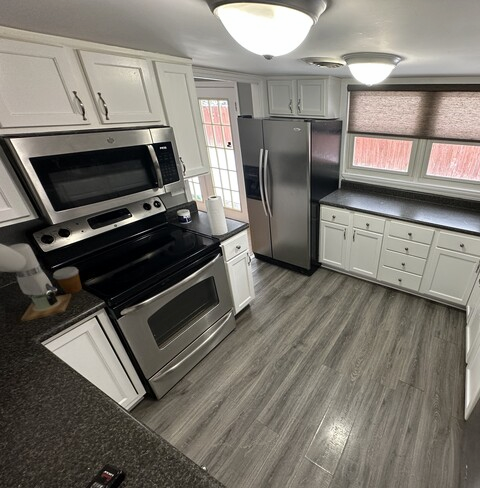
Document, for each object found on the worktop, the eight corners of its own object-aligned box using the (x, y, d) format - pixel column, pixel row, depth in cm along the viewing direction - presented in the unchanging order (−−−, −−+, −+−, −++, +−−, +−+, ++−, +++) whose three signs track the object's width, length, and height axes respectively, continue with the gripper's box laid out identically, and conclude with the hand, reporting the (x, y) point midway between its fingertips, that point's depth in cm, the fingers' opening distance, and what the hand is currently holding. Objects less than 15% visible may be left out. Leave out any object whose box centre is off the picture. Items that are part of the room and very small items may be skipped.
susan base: (22, 321, 116) (20, 319, 115) (33, 304, 127) (32, 301, 126) (64, 312, 123) (62, 309, 122) (71, 295, 133) (70, 293, 133)
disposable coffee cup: (65, 298, 131) (55, 278, 126) (59, 292, 136) (49, 272, 131) (89, 289, 139) (80, 270, 133) (82, 283, 143) (73, 264, 138)
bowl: (46, 312, 119) (40, 301, 117) (26, 311, 120) (20, 300, 117) (67, 299, 128) (61, 289, 126) (48, 298, 129) (43, 287, 126)
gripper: (0, 274, 113) (19, 307, 120) (39, 276, 112) (56, 309, 120) (19, 265, 119) (36, 297, 127) (56, 267, 119) (71, 299, 127)
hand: (46, 302), depth 123 cm, fingers closed on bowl, 7 cm apart
